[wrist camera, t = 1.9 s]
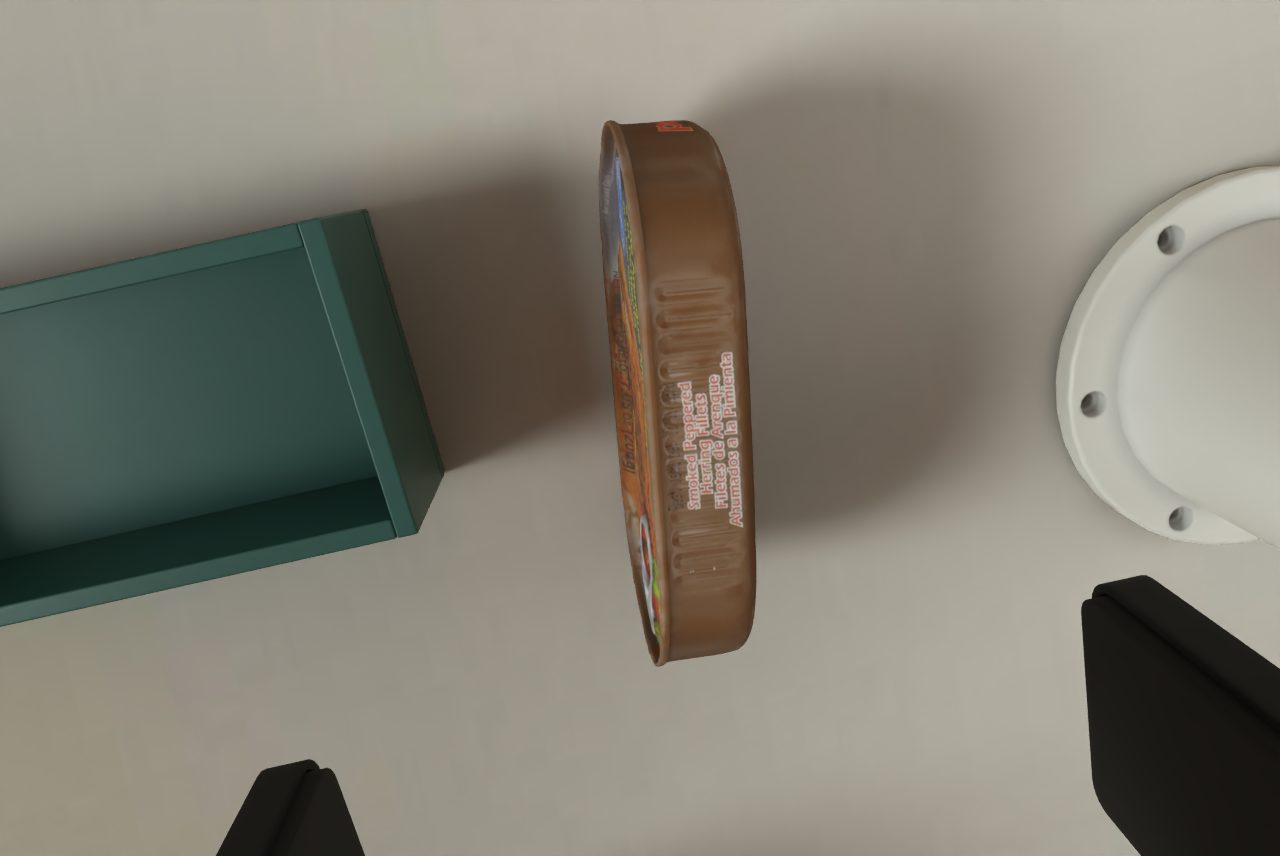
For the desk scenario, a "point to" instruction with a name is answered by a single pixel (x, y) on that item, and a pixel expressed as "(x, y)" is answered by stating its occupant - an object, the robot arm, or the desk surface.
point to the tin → (680, 384)
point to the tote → (205, 417)
